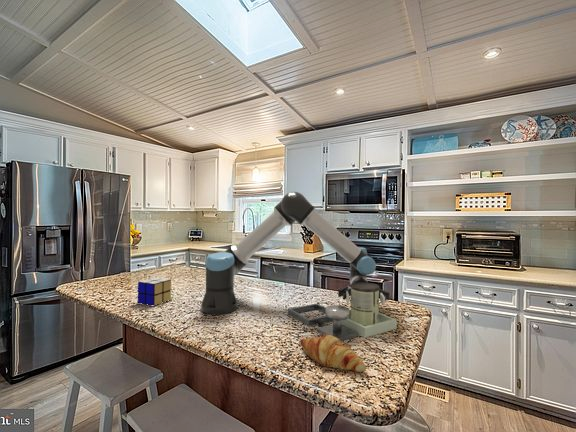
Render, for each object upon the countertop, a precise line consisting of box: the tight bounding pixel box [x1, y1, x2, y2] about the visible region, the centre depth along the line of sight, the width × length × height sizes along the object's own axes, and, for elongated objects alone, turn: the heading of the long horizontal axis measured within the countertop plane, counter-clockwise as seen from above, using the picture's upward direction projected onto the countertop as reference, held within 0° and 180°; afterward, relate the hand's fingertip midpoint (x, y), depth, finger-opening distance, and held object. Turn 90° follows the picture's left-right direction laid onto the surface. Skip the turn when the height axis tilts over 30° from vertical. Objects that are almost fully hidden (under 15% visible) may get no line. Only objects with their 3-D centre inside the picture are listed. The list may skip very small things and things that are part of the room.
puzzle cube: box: [137, 277, 172, 306], centre depth 131 cm, size 10×10×10 cm
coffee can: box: [350, 282, 380, 326], centre depth 107 cm, size 10×10×14 cm
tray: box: [342, 309, 398, 339], centre depth 106 cm, size 16×16×3 cm
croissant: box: [299, 334, 367, 373], centre depth 80 cm, size 21×10×8 cm, turn 50°
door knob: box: [316, 304, 359, 342], centre depth 101 cm, size 10×15×9 cm, turn 31°
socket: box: [287, 303, 333, 327], centre depth 115 cm, size 15×15×2 cm
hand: (365, 300), depth 103 cm, fingers open, 12 cm apart
